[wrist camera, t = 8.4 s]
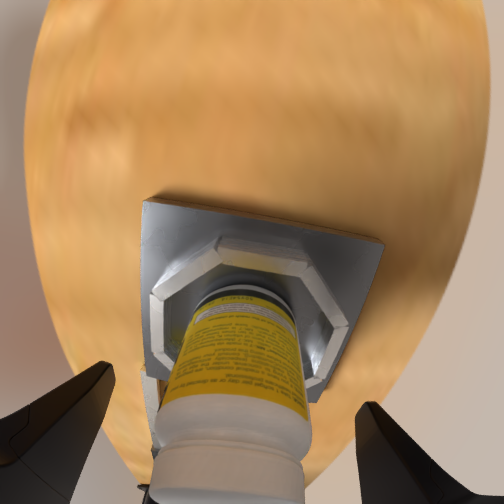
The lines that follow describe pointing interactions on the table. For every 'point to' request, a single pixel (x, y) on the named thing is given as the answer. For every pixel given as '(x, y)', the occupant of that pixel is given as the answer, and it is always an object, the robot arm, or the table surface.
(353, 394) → the table surface
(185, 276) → the grey handled tray
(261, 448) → the supplement bottle
